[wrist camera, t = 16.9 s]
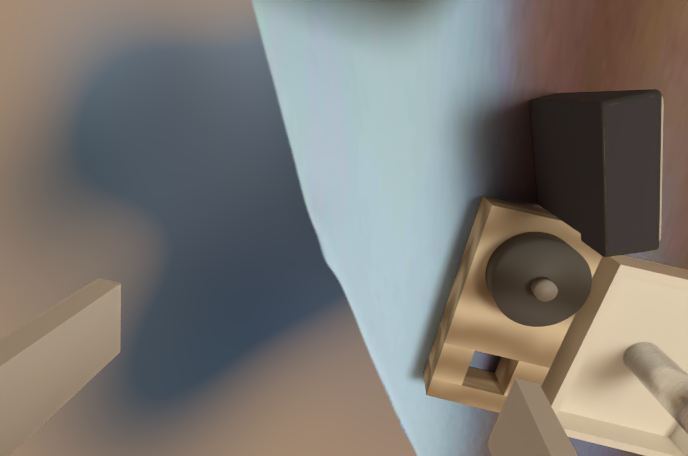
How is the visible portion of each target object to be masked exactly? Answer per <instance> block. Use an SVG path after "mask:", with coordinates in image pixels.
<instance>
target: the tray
mask: <svg viewBox="0 0 688 456" xmlns="http://www.w3.org/2000/svg"><path fill="white" fill-rule="evenodd" d="M639 342H650V343H653V344H655V345H656V346H658V347H659V348H660V349H661V350H662V351H663V352H664V353H665V354H667V355H668V356H669V357H670V358H671V359H672V360H673V361H674V362H675V363H676V364H678V365H679V366H680V367H681V368H682V369H683V370H684V371H685V372H686V373H688V270H687V269H682V268H678V267H673V266H669V265H665V264H660V263H656V262H651V261H647V260H643V259H638V258H634V257H629V256H625V255H618V256H611V257H603V256H602V258H601V260H600V263H599V265H598V267H597V269H596V271H595V273H594V275H593V278H592V287H591V291H590V294H589V296H588V298H587V300H586V302H585V303H584V305H583V306H582V307H581V308H580V309H579V310H578V311H577V312H576V314H575V316H574V318H573V320H572V322H571V325H570V327H569V329H568V331H567V333H566V335H565V337H564V339H563V342H562V344H561V346H560V348H559V350H558V352H557V354H556V357H555V359H554V361H553V363H552V365H551V367H550V369H549V371H548V374H547V376H546V378H545V380H544V382H543V384H542V386H541V388H542V390H543V392H544V394H545V395H546V397H547V399H548V401H549V403H550V405H551V407H552V409H553V410H554V412H555V414H556V416H557V418H558V420H559V422H560V423H561V425H562V427H563V429H564V431H565V433H566V435H567V436H568V437H572V438H576V439H580V440H584V441H588V442H592V443H596V444H600V445H604V446H609V447H613V448H617V449H621V450H625V451H629V452H633V453H637V454H641V455H645V456H688V434H687V433H686V432H685V431H684V429H683V428H682V427H681V426H680V425H679V424H678V423H677V422H676V421H675V419H674V418H673V417H672V416H671V415H670V414H669V413H668V412H667V411H666V410H665V408H664V407H663V406H662V405H661V404H660V403H659V402H658V401H657V400H656V398H655V397H654V396H653V395H652V394H651V393H650V392H649V391H648V390H647V389H646V387H645V386H644V385H643V384H642V383H641V382H640V381H639V380H638V379H637V378H636V376H635V375H634V374H633V373H632V372H631V371H630V370H629V369H628V368H627V366H626V365H625V364H624V361H623V356H624V353H625V351H626V350H627V349H628V348H629V347H630V346H632V345H633V344H636V343H639Z"/></svg>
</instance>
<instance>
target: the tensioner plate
mask: <svg viewBox="0 0 688 456" xmlns="http://www.w3.org/2000/svg"><path fill="white" fill-rule="evenodd" d="M601 258H602V256H601V255H600V254H599V253H597V252H596V251H594V250H593V249H592V248H590V247H589V246H588V245H586V244H585V243H584V242H582V241H581V234H580V233H579V232H578V231H576V230H575V229H573V228H572V227H570V226H569V225H568V224H566V223H565V222H563V221H562V220H560V219H559V218H557V217H556V216H555V215H553V214H552V213H550V212H549V211H547V210H544V209H540V208H535V207H531V206H526V205H522V204H518V203H513V202H509V201H504V200H500V199H495V198H491V197H486V196H482V199H481V202H480V205H479V208H478V211H477V214H476V217H475V220H474V223H473V226H472V229H471V232H470V235H469V238H468V241H467V244H466V247H465V250H464V253H463V256H462V259H461V262H460V265H459V268H458V271H457V274H456V277H455V280H454V283H453V286H452V289H451V292H450V295H449V298H448V301H447V304H446V307H445V310H444V313H443V316H442V319H441V322H440V325H439V328H438V331H437V334H436V337H435V340H434V343H433V346H432V349H431V351H430V354H429V357H428V360H427V363H426V366H425V369H424V372H423V373H424V381H425V388H426V395H429V396H433V397H437V398H441V399H445V400H449V401H453V402H457V403H462V404H466V405H470V406H474V407H478V408H482V409H486V410H490V411H494V412H498V413H500V412H501V410H502V407H503V405H504V403H505V400H506V398H507V396H508V394H509V391H510V389H511V387H512V384H513V382H514V380H515V378H517V379H522V380H526V381H530V382H534V383H538V384H540V386H542V384H543V382H544V380H545V378H546V376H547V374H548V371H549V369H550V367H551V365H552V363H553V361H554V359H555V357H556V354H557V352H558V350H559V348H560V346H561V344H562V342H563V339H564V337H565V335H566V333H567V331H568V329H569V327H570V325H571V322H572V320H573V318H574V316H575V314H576V312H577V311H578V310H579V309H580V308H581V307H582V306H583V305H584V303H585V302H586V300H587V298H588V296H589V294H590V291H591V287H592V278H593V275H594V273H595V271H596V269H597V267H598V265H599V263H600V260H601ZM475 350H476V351H480V352H484V353H488V354H492V355H497V356H501V359H500V362H499V364H498V366H497V369H496V371H495V373H494V372H490V371H486V370H482V369H478V368H473V367H469V365H470V362H471V359H472V357H473V354H474V352H475Z"/></svg>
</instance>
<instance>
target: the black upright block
mask: <svg viewBox="0 0 688 456" xmlns="http://www.w3.org/2000/svg"><path fill="white" fill-rule="evenodd" d="M530 112H531V125H532V137H533V150H534V163H535V176H536V188H537V201H538V204H539V205H540V206H542V207H543V208H544V209H546V210H547V211H549V212H550V213H552V214H553V215H555V216H556V217H557V218H559V219H560V220H562V221H563V222H565V223H566V224H568V225H569V226H570V227H572V228H573V229H575V230H576V231H578V232H579V233H580V234H581V241H582V242H584V243H585V244H586V245H588V246H589V247H590V248H592V249H593V250H594V251H596V252H597V253H599V254H600V255H601V256H603V257H611V256H618V255H624V254H631V253H638V252H645V251H651V250H656V249H658V247H659V241H660V239H661V207H662V152H663V97H662V95H661V92H660V91H659V90H628V91H602V92H576V93H559V94H554V95H550V96H545V97H541V98H536V99H532V100H531V101H530Z"/></svg>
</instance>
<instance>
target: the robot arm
mask: <svg viewBox="0 0 688 456" xmlns="http://www.w3.org/2000/svg"><path fill="white" fill-rule="evenodd" d="M120 319H121V283H118V282H114V281H109V280H105V279H101V278H98V279H96V280H95V281H93V282H92V283H90V284H88V285H87V286H85V287H83V288H82V289H80V290H79V291H77V292H75V293H74V294H72V295H70V296H69V297H67V298H66V299H64V300H62V301H61V302H59V303H57V304H56V305H54V306H53V307H51V308H49V309H48V310H46V311H45V312H43V313H41V314H40V315H38V316H36V317H35V318H33V319H32V320H30V321H28V322H27V323H25V324H23V325H22V326H20V327H19V328H17V329H15V330H14V331H12V332H11V333H9V334H7V335H6V336H4V337H2V338H1V339H0V456H10V455H11V454H12V453H13V452H14V451H15V450H16V449H17V448H18V447H19V446H21V445H22V444H23V443H24V442H25V441H26V440H27V439H28V438H29V437H30V436H31V435H32V434H33V433H34V432H35V431H37V430H38V429H39V428H40V427H41V426H42V425H43V424H44V423H45V422H46V421H47V420H48V419H49V418H50V417H51V416H52V415H53V414H55V413H56V412H57V411H58V410H59V409H60V408H61V407H62V406H63V405H64V404H65V403H66V402H67V401H68V400H69V399H70V398H72V397H73V396H74V395H75V394H76V393H77V392H78V391H79V390H80V389H81V388H82V387H83V386H84V385H85V384H86V383H87V382H89V381H90V379H92V378H93V377H94V376H95V375H96V374H97V373H98V372H99V371H100V370H101V369H102V368H103V367H104V366H105V365H107V364H108V363H109V362H110V361H111V360H112V359H113V358H114V357H115V356H116V355H117V354H118V353H119V352H120V328H121V327H120V326H121V324H120V323H121V320H120ZM487 443H488V446H489V450H490V453H491V456H578V455H577V453H576V452H575V450H574V448H573V446H572V444H571V442H570V440H569V438H568V437H567V435H566V433H565V431H564V429H563V427H562V425H561V423H560V422H559V420H558V418H557V416H556V414H555V412H554V410H553V409H552V407H551V405H550V403H549V401H548V399H547V397H546V395H545V394H544V392H543V390H542V388H541V386H540V384H538V383H534V382H530V381H526V380H522V379H517V378H515V380H514V382H513V384H512V387H511V389H510V391H509V394H508V396H507V398H506V400H505V403H504V405H503V407H502V410H501V412H500V414H499V417H498V419H497V421H496V423H495V426H494V428H493V430H492V433H491V435H490V437H489V440H488V442H487Z"/></svg>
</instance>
